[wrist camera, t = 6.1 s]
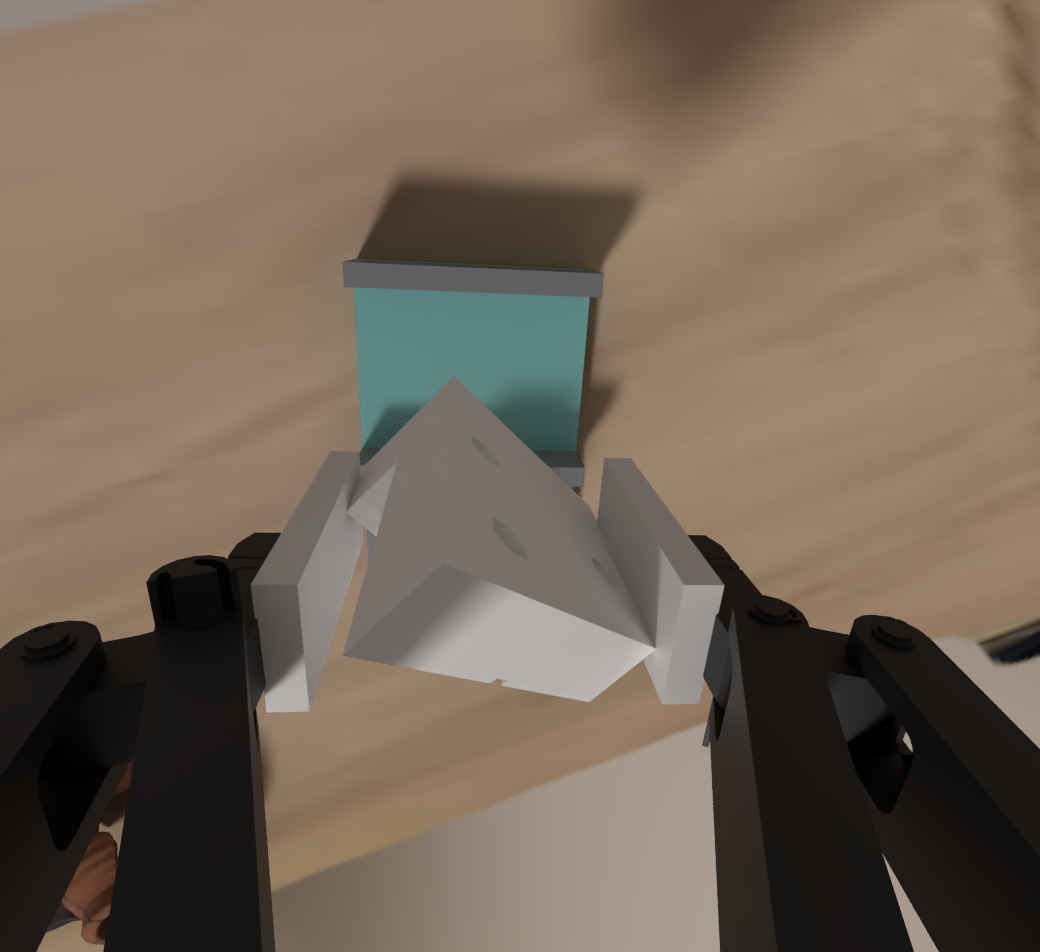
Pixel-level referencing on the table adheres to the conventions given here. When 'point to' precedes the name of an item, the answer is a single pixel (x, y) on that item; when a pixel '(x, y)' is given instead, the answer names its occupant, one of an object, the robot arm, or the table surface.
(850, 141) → the table surface
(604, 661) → the white wedge bracket
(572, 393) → the two-compartment cubby shelf
